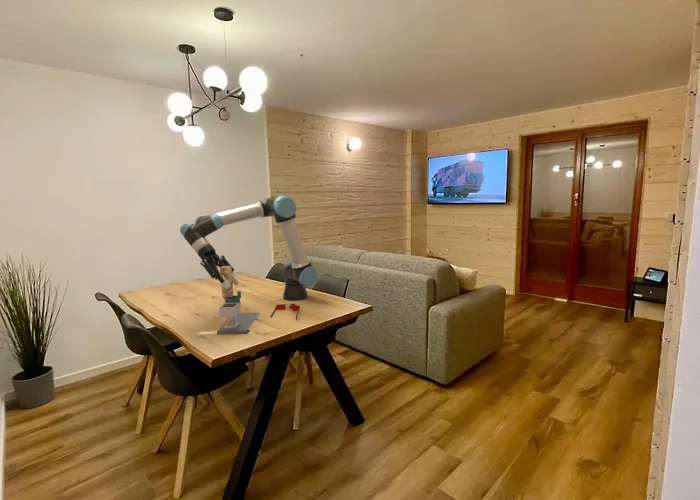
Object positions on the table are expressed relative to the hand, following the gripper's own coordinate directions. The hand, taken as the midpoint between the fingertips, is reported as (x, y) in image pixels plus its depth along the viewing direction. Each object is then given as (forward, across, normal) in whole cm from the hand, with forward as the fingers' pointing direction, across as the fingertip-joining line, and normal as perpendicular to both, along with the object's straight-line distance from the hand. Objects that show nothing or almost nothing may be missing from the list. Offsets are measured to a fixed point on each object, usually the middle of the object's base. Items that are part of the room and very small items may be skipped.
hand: (233, 285), depth 166 cm
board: (+12, -8, -19) cm, 24 cm away
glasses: (+23, -26, -9) cm, 36 cm away
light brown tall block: (+1, 0, -6) cm, 6 cm away
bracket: (-6, -32, -38) cm, 50 cm away
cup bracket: (+12, 0, -17) cm, 21 cm away
